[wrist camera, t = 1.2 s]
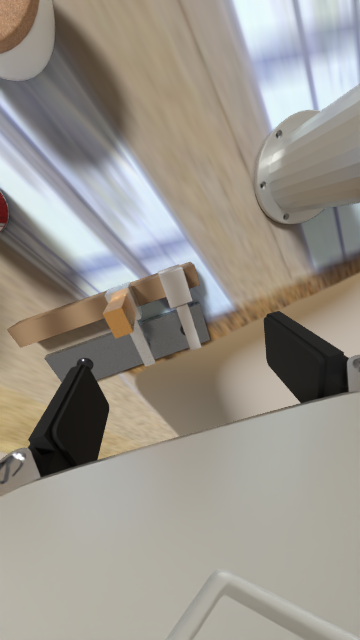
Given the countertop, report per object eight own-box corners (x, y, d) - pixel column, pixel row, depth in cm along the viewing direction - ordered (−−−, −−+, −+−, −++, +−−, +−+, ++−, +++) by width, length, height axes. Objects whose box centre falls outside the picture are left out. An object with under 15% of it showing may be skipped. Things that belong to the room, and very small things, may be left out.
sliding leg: (130, 279, 29) (123, 299, 20) (158, 346, 34) (162, 386, 25) (110, 286, 29) (94, 309, 20) (141, 352, 34) (139, 394, 25)
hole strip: (198, 301, 34) (199, 303, 33) (208, 337, 37) (210, 340, 36) (47, 354, 34) (44, 358, 33) (69, 386, 36) (67, 390, 35)
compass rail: (188, 257, 31) (198, 262, 25) (207, 324, 36) (219, 341, 30) (16, 317, 31) (-14, 336, 25) (59, 376, 35) (41, 404, 30)
